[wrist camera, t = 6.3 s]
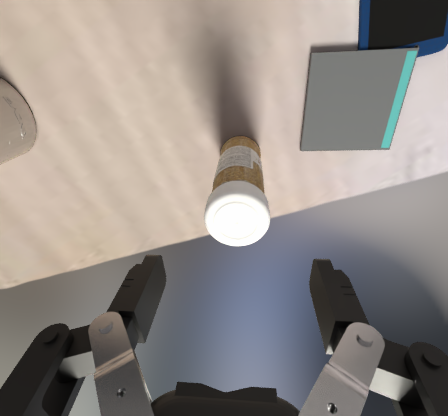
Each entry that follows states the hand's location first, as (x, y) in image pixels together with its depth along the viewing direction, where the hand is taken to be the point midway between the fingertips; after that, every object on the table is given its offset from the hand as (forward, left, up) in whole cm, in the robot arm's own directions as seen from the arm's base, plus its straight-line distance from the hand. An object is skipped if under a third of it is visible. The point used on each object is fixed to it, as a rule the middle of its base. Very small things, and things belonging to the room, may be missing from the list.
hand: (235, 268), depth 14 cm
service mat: (+11, +5, -18) cm, 21 cm away
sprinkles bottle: (0, 0, -18) cm, 18 cm away
